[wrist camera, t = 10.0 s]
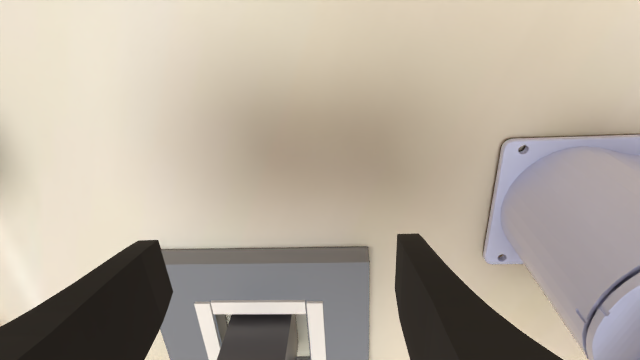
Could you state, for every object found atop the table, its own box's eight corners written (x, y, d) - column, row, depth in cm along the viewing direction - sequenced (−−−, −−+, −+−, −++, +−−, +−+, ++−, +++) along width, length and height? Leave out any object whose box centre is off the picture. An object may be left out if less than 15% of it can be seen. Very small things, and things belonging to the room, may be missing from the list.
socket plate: (367, 246, 24) (369, 264, 22) (366, 392, 30) (368, 413, 28) (150, 250, 25) (137, 266, 23) (193, 390, 31) (185, 411, 29)
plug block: (293, 299, 26) (282, 376, 21) (298, 341, 28) (289, 421, 23) (236, 300, 26) (211, 376, 21) (244, 341, 28) (223, 420, 23)
